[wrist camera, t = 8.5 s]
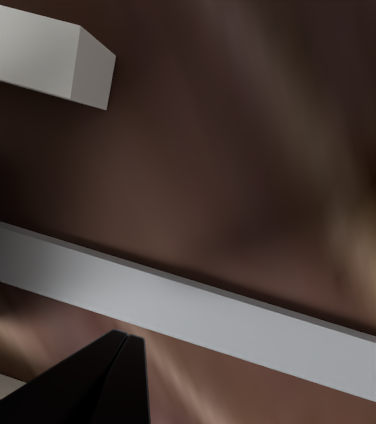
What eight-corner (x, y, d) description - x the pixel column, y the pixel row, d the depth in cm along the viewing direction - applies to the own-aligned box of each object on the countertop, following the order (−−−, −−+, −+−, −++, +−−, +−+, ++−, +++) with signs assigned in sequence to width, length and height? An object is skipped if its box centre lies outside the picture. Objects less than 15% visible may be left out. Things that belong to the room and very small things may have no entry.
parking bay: (390, 538, 10) (454, 688, 8) (-259, 313, 12) (-410, 365, 9) (635, 191, 7) (929, 224, 4) (-328, -61, 9) (-608, -166, 6)
